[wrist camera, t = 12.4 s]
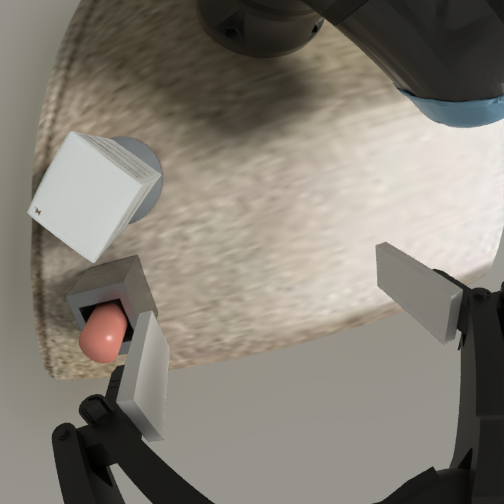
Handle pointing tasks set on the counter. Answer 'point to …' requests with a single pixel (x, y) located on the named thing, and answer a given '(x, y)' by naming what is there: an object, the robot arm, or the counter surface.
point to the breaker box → (113, 293)
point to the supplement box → (91, 192)
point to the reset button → (104, 331)
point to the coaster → (152, 160)
